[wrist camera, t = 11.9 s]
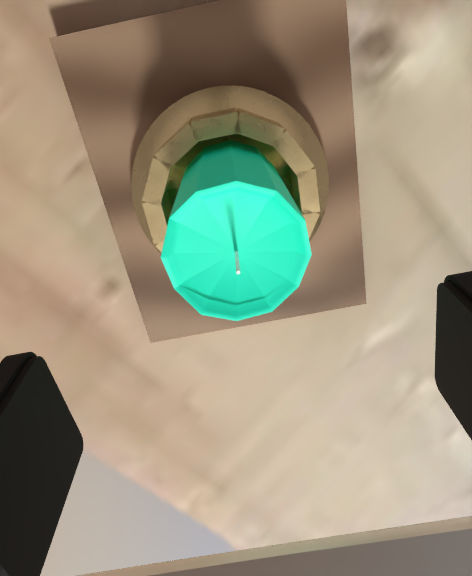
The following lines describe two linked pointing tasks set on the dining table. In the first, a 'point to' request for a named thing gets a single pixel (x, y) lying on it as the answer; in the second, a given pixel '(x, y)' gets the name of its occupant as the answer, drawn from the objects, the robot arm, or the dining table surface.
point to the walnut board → (209, 73)
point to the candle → (234, 235)
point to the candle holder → (219, 128)
